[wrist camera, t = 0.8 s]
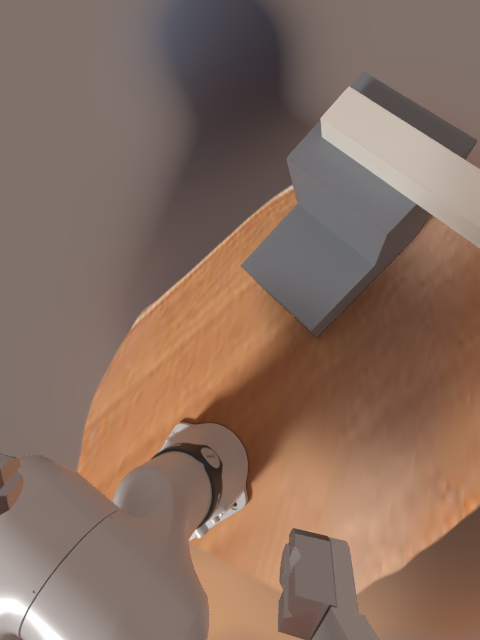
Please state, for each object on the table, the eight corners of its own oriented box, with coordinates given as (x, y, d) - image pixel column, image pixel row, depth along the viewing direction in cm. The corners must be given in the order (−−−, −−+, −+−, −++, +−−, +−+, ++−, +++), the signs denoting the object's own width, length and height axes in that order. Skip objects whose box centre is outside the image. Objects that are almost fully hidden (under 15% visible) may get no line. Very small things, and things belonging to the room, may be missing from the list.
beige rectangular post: (493, 258, 31) (508, 247, 28) (321, 136, 37) (320, 118, 34) (526, 225, 31) (546, 211, 28) (348, 107, 37) (349, 86, 34)
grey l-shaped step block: (316, 338, 60) (303, 321, 35) (261, 286, 64) (213, 238, 39) (416, 236, 58) (477, 140, 33) (352, 188, 61) (363, 71, 37)
